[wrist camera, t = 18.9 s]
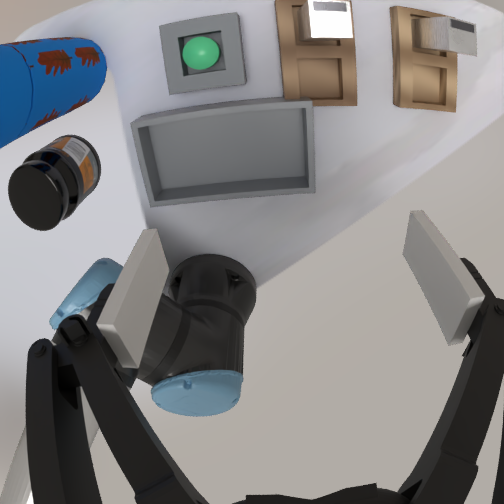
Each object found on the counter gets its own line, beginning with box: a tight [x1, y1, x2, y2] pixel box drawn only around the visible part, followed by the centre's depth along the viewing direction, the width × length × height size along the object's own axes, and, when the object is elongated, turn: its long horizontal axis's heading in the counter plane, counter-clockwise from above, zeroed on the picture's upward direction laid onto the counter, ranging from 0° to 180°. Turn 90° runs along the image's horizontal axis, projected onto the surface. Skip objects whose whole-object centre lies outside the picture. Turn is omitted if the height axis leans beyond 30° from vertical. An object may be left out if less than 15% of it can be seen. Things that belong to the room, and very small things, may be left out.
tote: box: [130, 96, 315, 207], centre depth 40 cm, size 12×22×4 cm, turn 96°
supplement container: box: [8, 135, 101, 231], centre depth 38 cm, size 10×10×12 cm
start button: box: [183, 37, 221, 70], centre depth 32 cm, size 4×4×3 cm
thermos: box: [0, 37, 107, 148], centre depth 24 cm, size 11×11×25 cm
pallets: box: [275, 0, 457, 113], centre depth 32 cm, size 14×24×2 cm, turn 96°
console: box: [159, 12, 246, 95], centre depth 33 cm, size 9×9×4 cm
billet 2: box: [411, 16, 477, 57], centre depth 26 cm, size 4×4×10 cm
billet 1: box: [296, 0, 353, 41], centre depth 27 cm, size 4×4×10 cm
